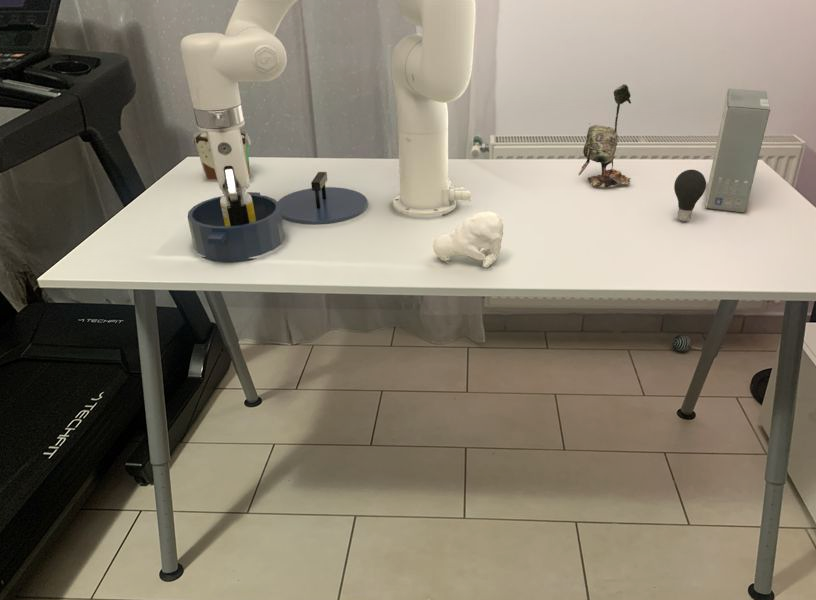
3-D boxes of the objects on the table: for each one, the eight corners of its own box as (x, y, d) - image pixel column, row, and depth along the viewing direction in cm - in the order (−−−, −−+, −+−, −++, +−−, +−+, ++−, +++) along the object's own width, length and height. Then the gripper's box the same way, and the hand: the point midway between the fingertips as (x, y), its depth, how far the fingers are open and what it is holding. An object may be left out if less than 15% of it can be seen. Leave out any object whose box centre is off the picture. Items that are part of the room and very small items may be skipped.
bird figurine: (576, 175, 158) (585, 81, 147) (628, 177, 157) (642, 82, 146) (577, 188, 151) (587, 90, 140) (632, 190, 150) (646, 92, 139)
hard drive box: (746, 214, 139) (770, 109, 128) (705, 209, 141) (726, 106, 130) (745, 187, 152) (767, 89, 141) (707, 183, 154) (726, 86, 143)
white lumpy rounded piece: (503, 219, 115) (428, 225, 115) (506, 267, 119) (434, 273, 120) (501, 205, 120) (430, 210, 121) (504, 251, 124) (435, 256, 125)
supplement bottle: (264, 232, 129) (255, 179, 124) (248, 244, 125) (237, 190, 119) (238, 228, 131) (228, 176, 125) (221, 240, 126) (210, 187, 121)
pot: (298, 221, 136) (294, 189, 133) (265, 271, 119) (260, 236, 115) (218, 219, 137) (212, 187, 134) (174, 268, 120) (166, 233, 116)
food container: (264, 172, 159) (257, 127, 154) (255, 182, 154) (248, 135, 149) (210, 170, 160) (202, 125, 155) (200, 180, 155) (190, 134, 150)
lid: (374, 193, 149) (373, 162, 145) (358, 228, 134) (356, 195, 130) (289, 191, 150) (285, 160, 146) (264, 225, 135) (259, 192, 131)
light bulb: (700, 218, 137) (711, 167, 132) (696, 229, 133) (706, 177, 128) (671, 214, 139) (680, 163, 134) (665, 224, 135) (674, 172, 130)
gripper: (245, 129, 110) (264, 237, 120) (241, 101, 124) (259, 200, 134) (194, 134, 108) (218, 243, 118) (196, 105, 122) (217, 205, 132)
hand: (239, 219), depth 126 cm, fingers closed on supplement bottle, 5 cm apart
